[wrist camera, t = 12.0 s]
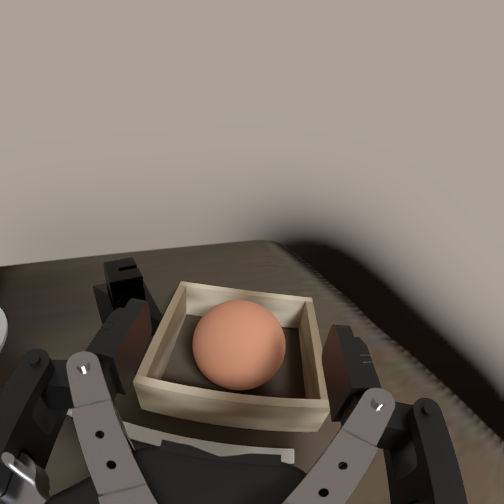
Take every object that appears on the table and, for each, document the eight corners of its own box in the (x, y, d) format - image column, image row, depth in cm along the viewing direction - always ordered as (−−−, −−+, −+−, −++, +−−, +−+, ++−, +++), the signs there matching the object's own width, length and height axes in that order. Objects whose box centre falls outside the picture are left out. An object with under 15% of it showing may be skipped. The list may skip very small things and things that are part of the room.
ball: (188, 394, 18) (177, 358, 14) (203, 325, 22) (200, 274, 18) (275, 405, 18) (293, 373, 14) (278, 335, 22) (294, 286, 18)
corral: (141, 409, 15) (133, 381, 14) (181, 309, 25) (181, 281, 24) (317, 432, 15) (332, 407, 14) (304, 324, 25) (311, 297, 24)
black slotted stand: (187, 345, 22) (186, 300, 20) (102, 367, 18) (88, 322, 16) (144, 273, 31) (142, 236, 29) (84, 284, 27) (77, 246, 25)
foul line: (28, 395, 13) (27, 393, 13) (34, 385, 14) (33, 384, 14) (293, 463, 13) (294, 462, 13) (293, 450, 14) (294, 448, 14)
